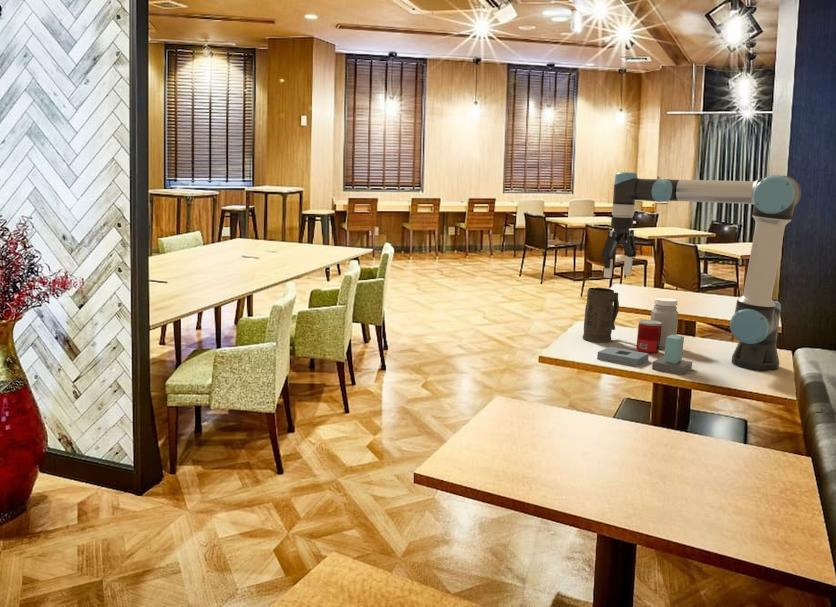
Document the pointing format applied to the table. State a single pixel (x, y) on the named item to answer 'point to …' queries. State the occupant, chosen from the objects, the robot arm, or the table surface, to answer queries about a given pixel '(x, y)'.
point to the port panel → (623, 356)
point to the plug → (673, 349)
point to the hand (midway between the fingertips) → (617, 276)
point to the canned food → (649, 336)
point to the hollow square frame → (672, 366)
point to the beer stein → (600, 314)
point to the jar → (665, 317)
